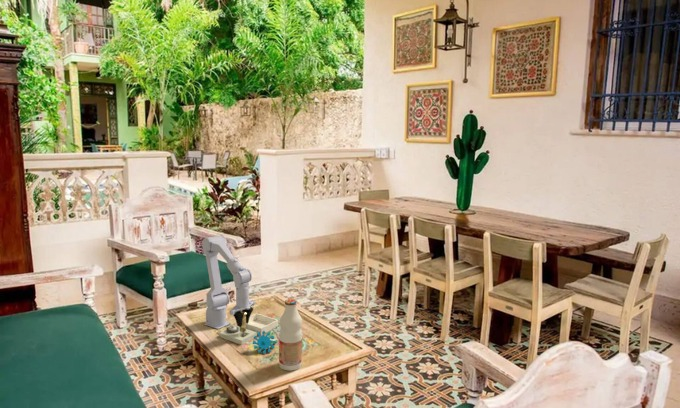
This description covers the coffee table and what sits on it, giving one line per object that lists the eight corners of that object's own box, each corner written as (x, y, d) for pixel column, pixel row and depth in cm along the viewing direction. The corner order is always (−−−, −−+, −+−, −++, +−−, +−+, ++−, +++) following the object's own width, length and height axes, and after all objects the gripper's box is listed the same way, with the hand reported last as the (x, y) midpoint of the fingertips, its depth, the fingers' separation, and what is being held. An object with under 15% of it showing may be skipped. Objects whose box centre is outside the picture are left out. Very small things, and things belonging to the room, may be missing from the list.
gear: (253, 353, 198) (253, 330, 204) (250, 357, 203) (250, 335, 208) (278, 353, 202) (277, 330, 208) (275, 357, 206) (274, 335, 212)
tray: (239, 328, 225) (239, 321, 225) (256, 319, 236) (256, 313, 235) (261, 335, 218) (261, 328, 218) (278, 326, 228) (278, 319, 228)
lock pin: (236, 331, 214) (236, 312, 212) (242, 327, 217) (242, 310, 216) (243, 333, 212) (242, 314, 210) (249, 330, 215) (249, 312, 214)
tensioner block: (219, 336, 216) (219, 328, 215) (234, 329, 224) (234, 321, 224) (241, 344, 209) (241, 336, 208) (256, 336, 217) (256, 328, 216)
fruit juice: (291, 373, 186) (292, 307, 181) (274, 366, 191) (274, 301, 186) (306, 364, 193) (307, 300, 188) (289, 357, 198) (290, 294, 194)
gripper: (237, 303, 203) (237, 332, 206) (260, 293, 216) (260, 321, 218) (225, 299, 207) (226, 328, 209) (248, 290, 219) (248, 317, 222)
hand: (242, 324), depth 214 cm, fingers closed on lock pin, 4 cm apart
